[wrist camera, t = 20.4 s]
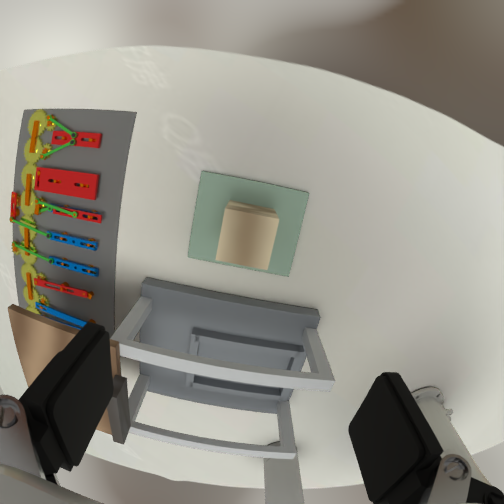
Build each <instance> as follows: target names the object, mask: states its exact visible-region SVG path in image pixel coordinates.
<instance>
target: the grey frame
mask: <svg viewBox="0 0 504 504" xmlns="http://www.w3.org/2000/svg"><path fill="white" fill-rule="evenodd" d="M319 320H320V315H319V312H318V310H317V309H311V308H305V307H298V306H292V305H286V304H280V303H274V302H269V301H263V300H257V299H252V298H246V297H241V296H236V295H230V294H225V293H220V292H215V291H210V290H205V289H200V288H195V287H190V286H185V285H180V284H176V283H171V282H166V281H162V280H157V279H153V278H148V277H147V278H146V279H145V280H144V281H143V283H142V289H141V297H140V298H139V300H138V301H137V302H136V304H135V305H134V306H133V308H132V309H131V311H130V312H129V313H128V315H127V316H126V317H125V319H124V320H123V322H122V323H121V324H120V326H119V327H118V329H117V330H116V331H115V333H114V334H113V336H112V337H111V338H110V339H112V340H115V341H119V348H120V356H123V357H127V358H130V359H134V360H137V361H140V375H139V377H138V379H137V381H136V384H135V386H134V388H133V390H132V392H131V395H130V397H129V399H128V402H129V412H130V422H131V427H130V429H129V433H132V434H135V435H139V436H142V437H146V438H150V439H154V440H158V441H162V442H166V443H170V444H175V445H179V446H184V447H189V448H194V449H200V450H205V451H211V452H218V453H225V454H232V455H241V456H250V457H262V458H276V459H293V458H294V457H295V455H296V446H295V439H294V432H293V425H292V418H291V411H290V404H289V399H290V397H291V395H292V392H293V390H294V389H301V390H313V391H329V392H330V391H331V389H332V387H333V384H334V382H335V379H334V376H333V373H332V370H331V368H330V365H329V362H328V359H327V356H326V354H325V351H324V348H323V345H322V343H321V340H320V337H319V335H318V332H317V326H318V323H319ZM139 330H140V342H136V341H133V340H134V338H135V336H136V335H137V333H138V331H139ZM306 356H307V358H308V362H309V365H310V369H311V373H309V372H301V369H302V367H303V364H304V362H305V359H306ZM146 391H149V392H153V393H157V394H161V395H165V396H170V397H174V398H178V399H183V400H188V401H193V402H198V403H203V404H208V405H214V406H220V407H226V408H232V409H239V410H247V411H255V412H263V413H273V414H277V416H278V426H279V437H280V447H278V446H264V445H254V444H244V443H236V442H228V441H222V440H215V439H209V438H203V437H198V436H192V435H187V434H183V433H178V432H173V431H169V430H165V429H161V428H157V427H153V426H149V425H145V424H141V423H138V422H135V420H136V417H137V414H138V412H139V409H140V407H141V404H142V402H143V399H144V397H145V394H146Z"/></svg>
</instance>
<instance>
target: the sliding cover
mask: <svg viewBox="0 0 504 504" xmlns="http://www.w3.org/2000/svg"><path fill="white" fill-rule="evenodd" d="M8 312H9V318H10V322H11V327H12V332H13V336H14V340H15V344H16V348H17V352H18V355H19V359H20V362H21V366H22V369H23V372H24V375H25V378H26V381H27V384H28V387H29V386H30V385H31V384H32V383H33V381H34V380H35V379H36V378H37V376H38V375H39V374H40V373H41V372H42V370H43V369H44V368H45V367H46V366H47V364H48V363H49V362H50V361H51V360H52V359H53V357H54V356H55V355H56V354H57V353H58V352H60V351H62V350H63V349H64V348H65V347H66V346H67V344H68V343H69V342H70V341H71V340H72V339H73V338H74V336H75V335H76V334H77V333H78V332H79V331H80V329H77V328H74V327H71V326H68V325H65V324H63V323H60V322H57V321H54V320H52V319H49V318H46V317H44V316H41V315H38V314H36V313H33V312H31V311H28V310H26V309H24V308H21V307H19V306H16V305H14V304H12V305H11V306H9V307H8ZM110 353H111V366H112V377H113V386H114V391H113V396H112V398H111V400H110V402H109V404H108V406H107V408H106V410H105V412H104V414H103V416H102V418H101V420H100V422H99V424H98V426H97V428H96V429H97V430H99V431H102V432H105V433H108V434H111V435H112V436H113V441H115V442H118V443H121V444H124V443H125V440H126V437H127V435H128V432H129V429H130V427H131V422H130V412H129V402H128V390H127V378H125V377H122V376H121V367H120V348H119V341H115V340H112V339H110Z"/></svg>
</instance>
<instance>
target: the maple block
mask: <svg viewBox="0 0 504 504" xmlns="http://www.w3.org/2000/svg"><path fill="white" fill-rule="evenodd" d="M278 224H279V217H278V215H277V213H276V211H275V209H271V208H267V207H262V206H257V205H252V204H248V203H243V202H238V201H233V200H229V202H228V204H227V206H226V207H225V211H224V216H223V222H222V227H221V232H220V238H219V243H218V248H217V254H216V259H215V260H217V261H222V262H228V263H233V264H238V265H243V266H248V267H253V268H258V269H263V270H268V266H269V262H270V257H271V253H272V249H273V245H274V241H275V236H276V232H277V228H278Z"/></svg>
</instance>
